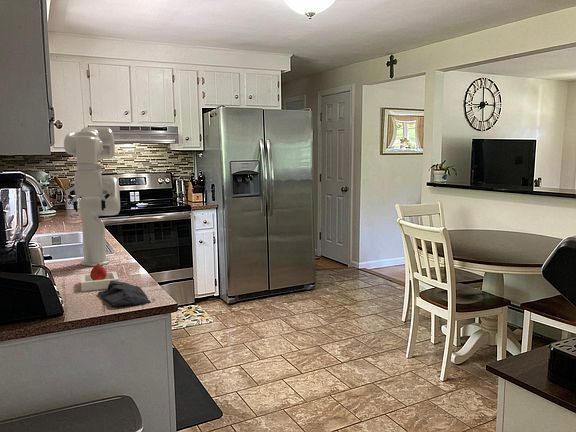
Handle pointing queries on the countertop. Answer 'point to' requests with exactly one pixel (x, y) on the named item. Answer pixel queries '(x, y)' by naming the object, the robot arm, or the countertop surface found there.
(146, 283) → the countertop surface
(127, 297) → the dark grey folded cloth
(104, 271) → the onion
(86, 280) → the dish
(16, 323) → the countertop surface
